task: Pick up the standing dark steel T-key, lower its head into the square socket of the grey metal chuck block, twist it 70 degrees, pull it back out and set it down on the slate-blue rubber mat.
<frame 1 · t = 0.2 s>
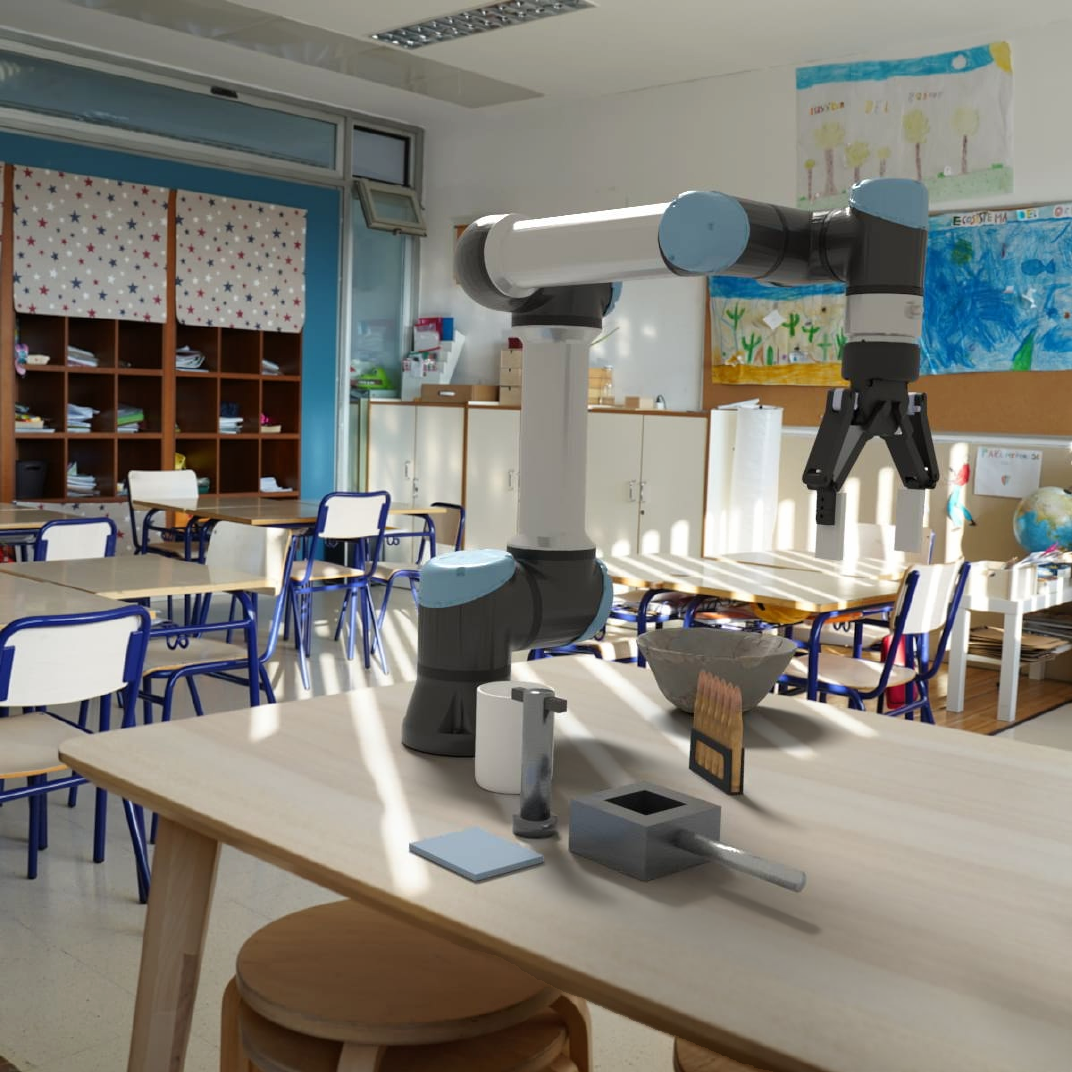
hand: (869, 555, 128), 28 cm above the table, fingers open, 13 cm apart
mat: (475, 855, 119), on the table
ammunition clip: (715, 782, 145), on the table
key: (534, 831, 126), on the table
mug: (507, 781, 143), on the table
ceramic bowl: (713, 711, 179), on the table
chuck block: (643, 853, 120), on the table
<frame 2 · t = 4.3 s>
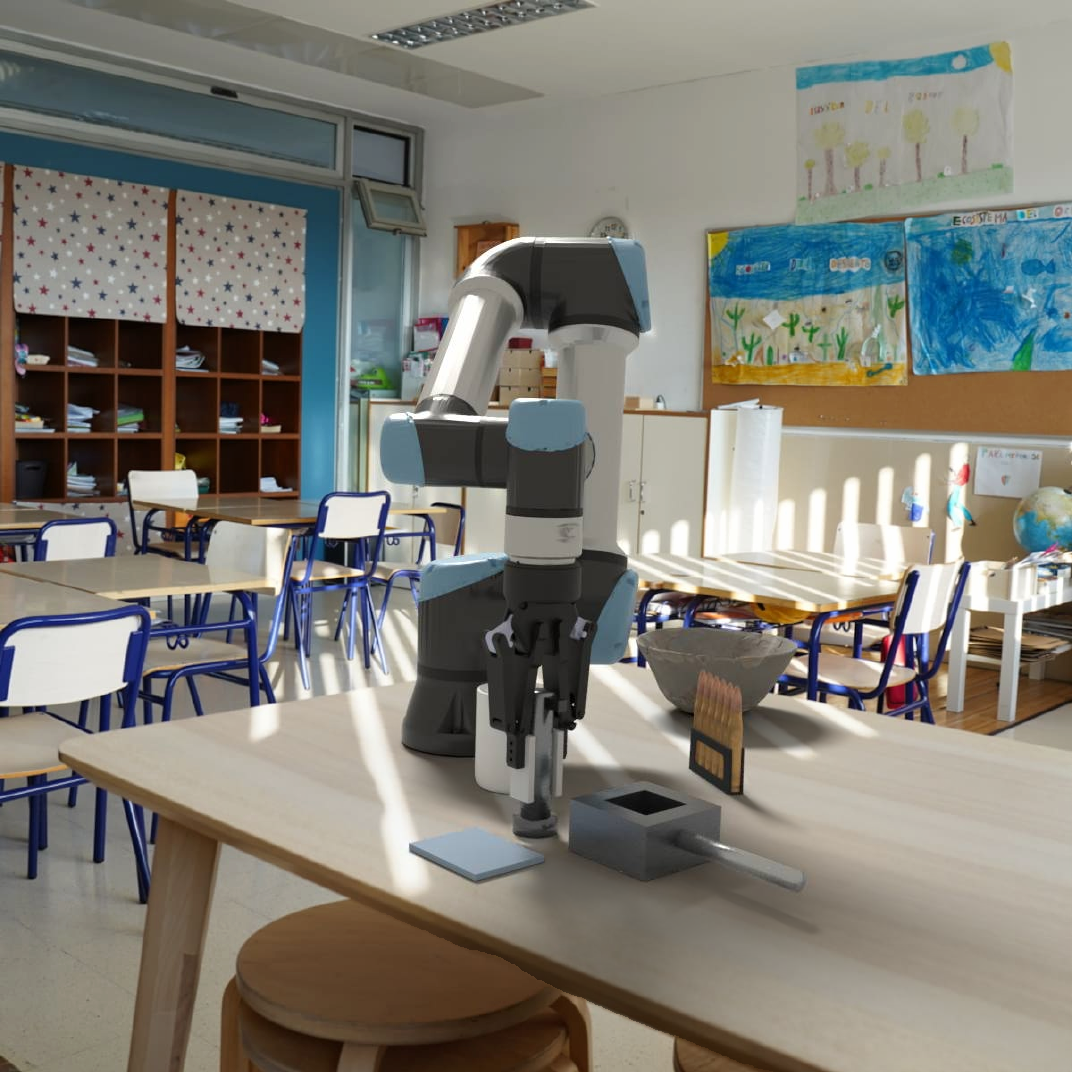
hand: (535, 795, 126), 4 cm above the table, fingers closed on key, 3 cm apart
key: (534, 830, 126), on the table, touching gripper
everything else where it was.
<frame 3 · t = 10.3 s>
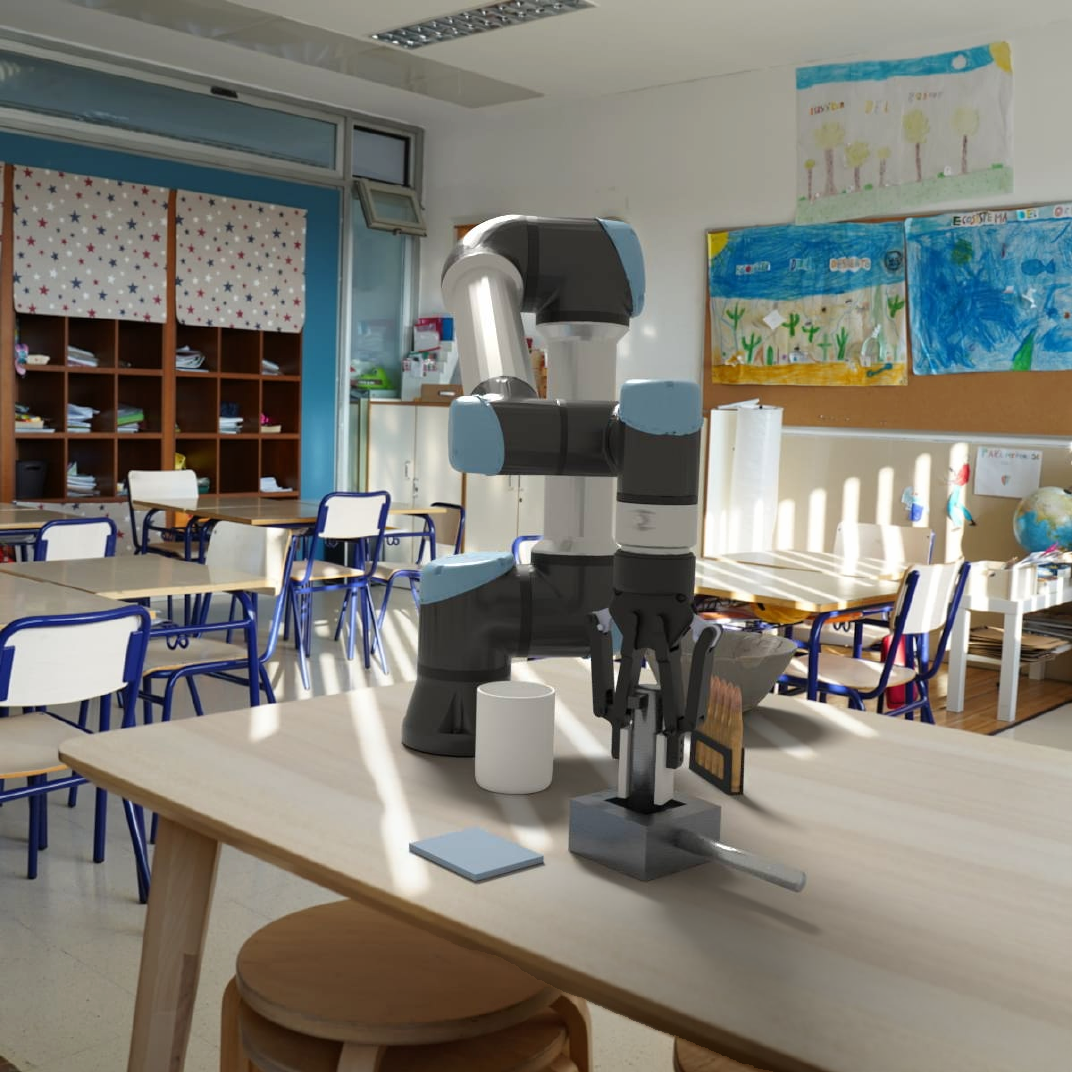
hand: (645, 796, 120), 6 cm above the table, fingers closed on key, 3 cm apart
key: (643, 833, 120), point 2 cm above the table, touching gripper
everything else where it was.
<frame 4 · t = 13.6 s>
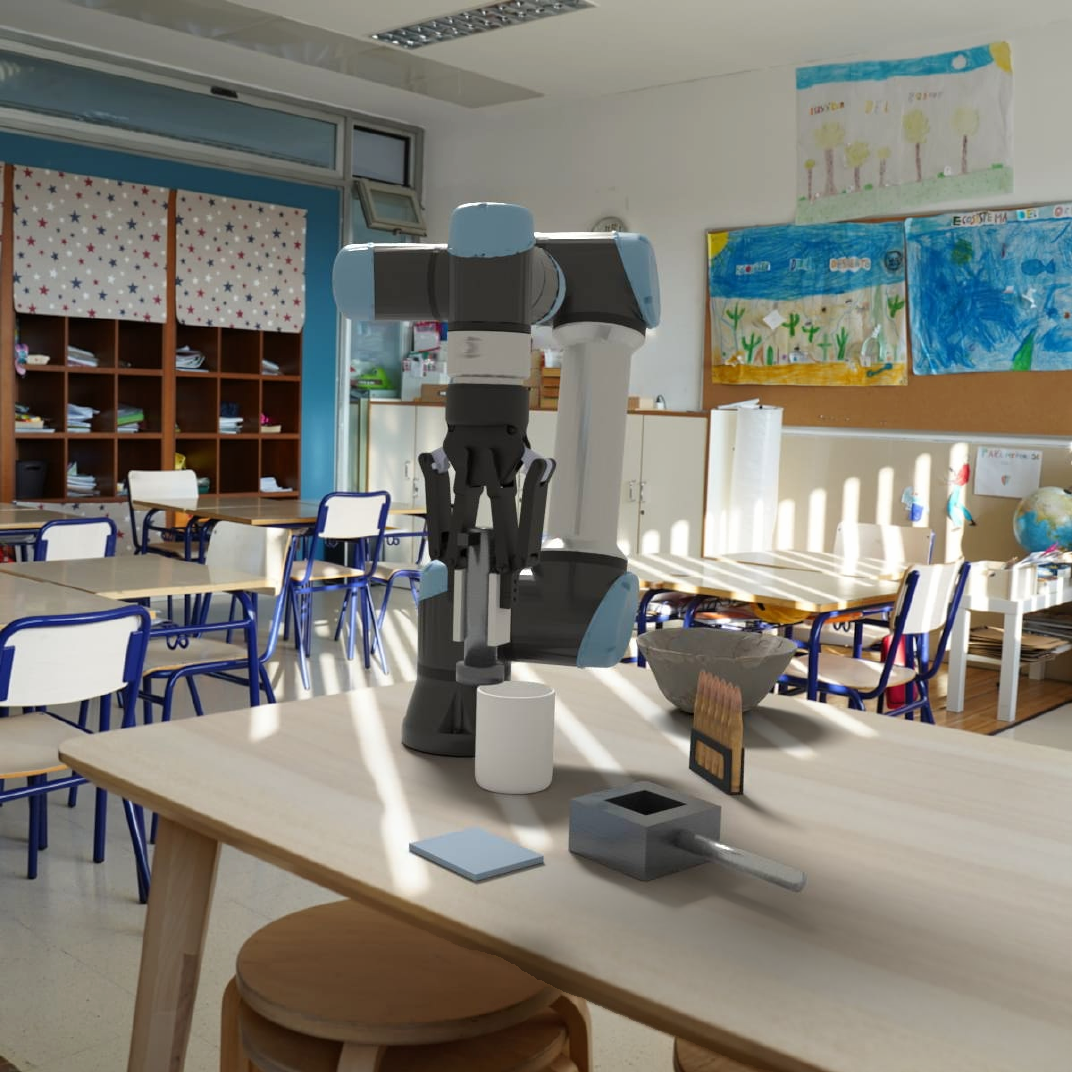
hand: (481, 640, 117), 20 cm above the table, fingers closed on key, 3 cm apart
key: (480, 680, 117), point 17 cm above the table, touching gripper
everything else where it was.
when the fingers open (5 cm above the table, at t = 16.4 s): key stays where it is, resting on mat.
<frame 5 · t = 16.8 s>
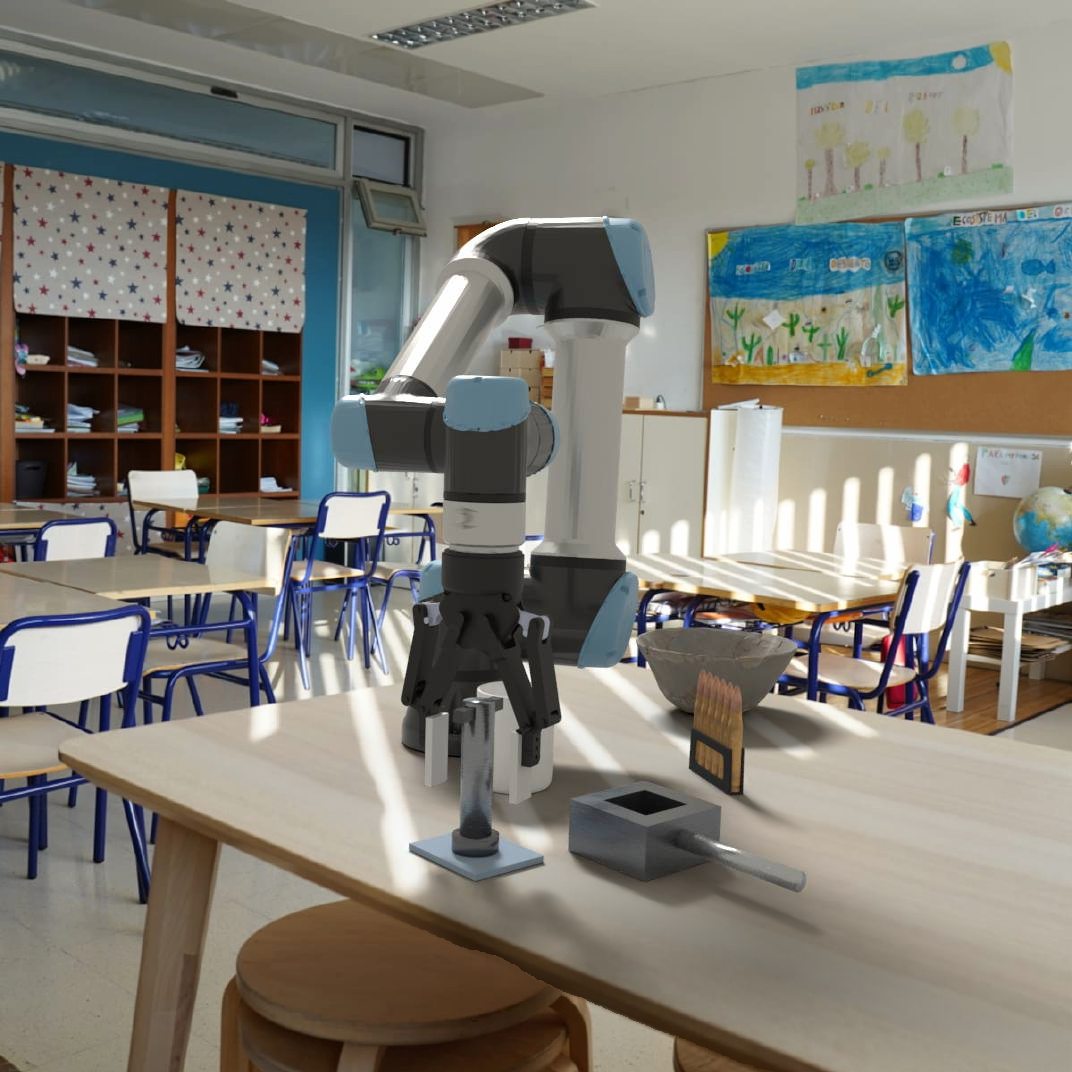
hand: (477, 791, 118), 6 cm above the table, fingers open, 8 cm apart
key: (475, 849, 119), point 1 cm above the table, touching mat
everything else where it was.
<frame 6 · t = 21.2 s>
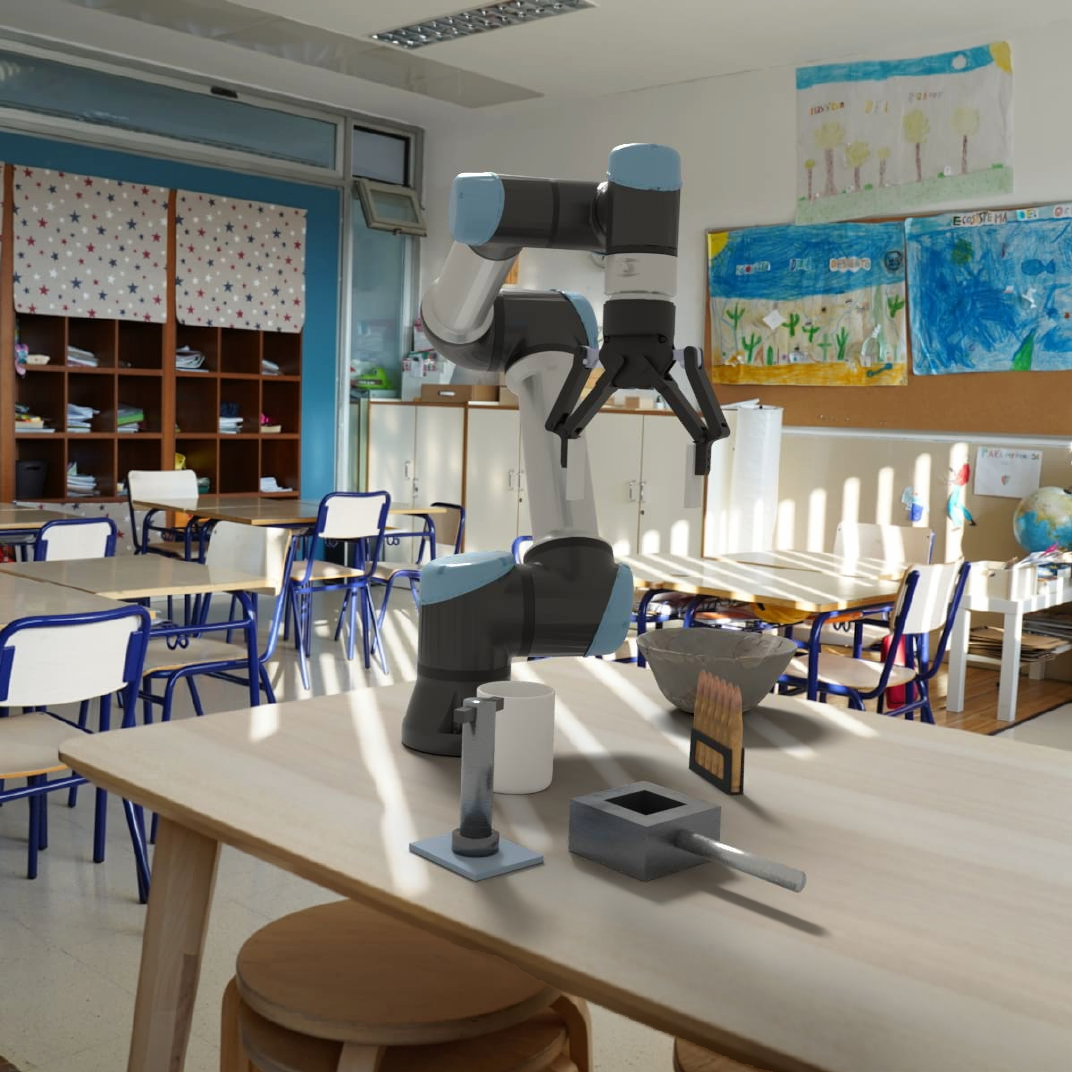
hand: (632, 503, 135), 32 cm above the table, fingers open, 13 cm apart
nothing on the table moved.
at the end: key 0.1 cm from the mat (horizontally); key point 0.6 cm above the table; the gripper is holding nothing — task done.
